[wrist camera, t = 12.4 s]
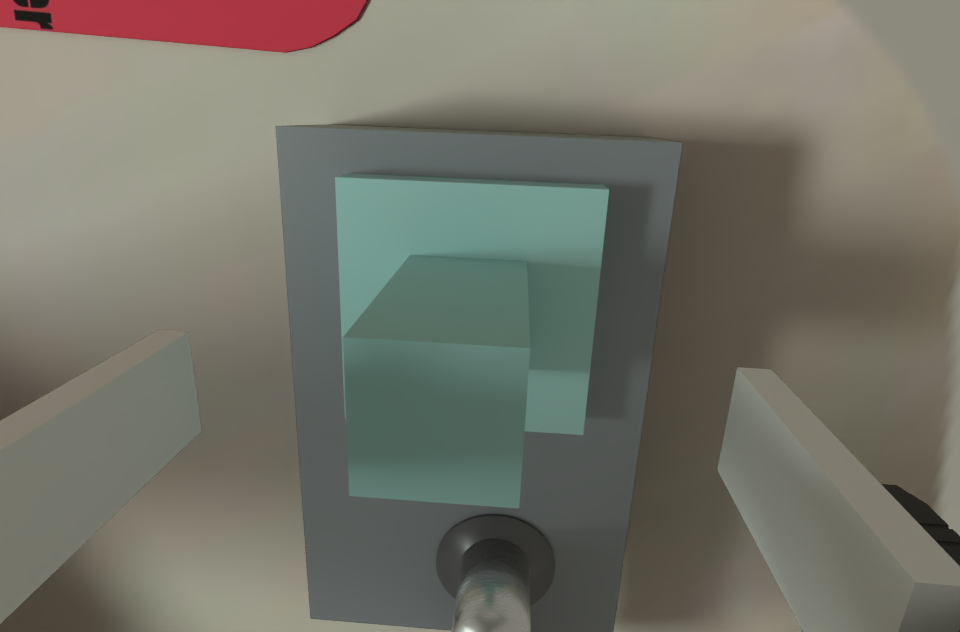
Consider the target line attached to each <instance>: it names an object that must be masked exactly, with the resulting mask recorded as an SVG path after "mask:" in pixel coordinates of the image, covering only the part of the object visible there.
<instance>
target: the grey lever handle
mask: <svg viewBox="0 0 960 632" xmlns="http://www.w3.org/2000/svg"><path fill="white" fill-rule="evenodd" d="M452 632H531V622H530V568H529V561H528V558H527V556H526V554H525V553H524V552H523V551H522V550H521V549H520V548H519V547H518V546H517V545H515V544H514V543H512V542H509V541H507V540H503V539H496V538H490V539H484V540H481V541H478V542H476V543H474V544H473V545H471V546H470V547H469V548H468V549H467V550H466V551H465V553H464V554H463V557H462V560H461V566H460V573H459V581H458V588H457V595H456V603H455V610H454V617H453V625H452Z"/></svg>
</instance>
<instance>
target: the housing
mask: <svg viewBox="0 0 960 632" xmlns="http://www.w3.org/2000/svg"><path fill="white" fill-rule="evenodd" d="M276 139H277V153H278V168H279V182H280V196H281V210H282V224H283V238H284V252H285V266H286V281H287V295H288V309H289V323H290V337H291V351H292V365H293V379H294V394H295V408H296V422H297V436H298V450H299V464H300V478H301V492H302V507H303V521H304V535H305V549H306V563H307V577H308V591H309V606H310V619H320V620H332V621H344V622H356V623H368V624H380V625H392V626H404V627H415V628H427V629H439V630H451V631H452V625H453V617H454V610H455V603H456V595H457V588H458V581H459V573H460V566H461V560H462V557H463V554H464V553H465V551H466V550H467V549H468V548H469V547H470V546H471V545H473V544H474V543H476V542H478V541H481V540H484V539H490V538H496V539H503V540H507V541H509V542H512V543H514V544H515V545H517V546H518V547H519V548H520V549H521V550H522V551H523V552H524V553H525V554H526V556H527V558H528V561H529V568H530V622H531V632H613V630H614V623H615V616H616V609H617V602H618V595H619V588H620V581H621V574H622V566H623V559H624V552H625V545H626V538H627V531H628V524H629V517H630V510H631V503H632V496H633V489H634V482H635V475H636V468H637V461H638V453H639V446H640V439H641V432H642V425H643V418H644V411H645V404H646V397H647V390H648V383H649V376H650V369H651V362H652V355H653V348H654V341H655V333H656V326H657V319H658V312H659V305H660V298H661V291H662V284H663V277H664V270H665V263H666V256H667V249H668V242H669V235H670V228H671V220H672V213H673V206H674V199H675V192H676V185H677V178H678V171H679V164H680V157H681V150H682V142H675V141H668V140H662V139H655V138H648V137H628V136H603V135H578V134H554V133H529V132H504V131H479V130H454V129H430V128H405V127H380V126H355V125H331V124H327V125H294V126H276ZM347 173H354V174H376V175H399V176H421V177H444V178H466V179H488V180H511V181H533V182H556V183H578V184H601V185H604V186H605V187H607V188H608V189H609V196H608V206H607V215H606V225H605V234H604V243H603V253H602V262H601V272H600V281H599V291H598V300H597V310H596V319H595V328H594V338H593V347H592V357H591V366H590V376H589V385H588V395H587V404H586V413H585V423H584V432H583V435H574V434H559V433H544V432H529V431H524V446H523V460H522V475H521V489H520V503H519V508H505V507H492V506H478V505H464V504H451V503H437V502H423V501H410V500H396V499H382V498H369V497H355V496H349V479H348V454H347V429H346V419H345V409H344V385H343V360H342V336H341V312H340V287H339V263H338V238H337V214H336V190H335V177H337V176H340V175H344V174H347Z"/></svg>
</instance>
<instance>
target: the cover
mask: <svg viewBox="0 0 960 632" xmlns="http://www.w3.org/2000/svg"><path fill="white" fill-rule="evenodd" d="M335 190H336V214H337V238H338V263H339V287H340V312H341V336H342V360H343V385H344V409H345V419H346V429H347V454H348V479H349V496H355V497H369V498H382V499H396V500H410V501H423V502H437V503H451V504H464V505H478V506H492V507H505V508H519V503H520V489H521V475H522V460H523V446H524V431H529V432H544V433H559V434H574V435H583V432H584V423H585V413H586V404H587V395H588V385H589V376H590V366H591V357H592V347H593V338H594V328H595V319H596V310H597V300H598V291H599V281H600V272H601V262H602V253H603V243H604V234H605V225H606V215H607V206H608V196H609V189H608V188H607V187H605V186H604V185H601V184H578V183H556V182H533V181H511V180H488V179H466V178H444V177H421V176H399V175H376V174H354V173H347V174H344V175H340V176H337V177H335Z"/></svg>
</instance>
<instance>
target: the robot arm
mask: <svg viewBox="0 0 960 632" xmlns="http://www.w3.org/2000/svg"><path fill="white" fill-rule="evenodd" d="M200 432H201V423H200V415H199V408H198V400H197V393H196V385H195V377H194V370H193V362H192V355H191V347H190V340H189V332H183V331H168V330H157V331H156V332H154V333H152V334H150V335H149V336H147V337H145V338H143V339H142V340H140V341H138V342H136V343H135V344H133V345H131V346H129V347H128V348H126V349H124V350H123V351H121V352H119V353H117V354H116V355H114V356H112V357H110V358H109V359H107V360H105V361H103V362H102V363H100V364H98V365H96V366H95V367H93V368H91V369H89V370H88V371H86V372H84V373H82V374H81V375H79V376H77V377H76V378H74V379H72V380H70V381H69V382H67V383H65V384H63V385H62V386H60V387H58V388H56V389H55V390H53V391H51V392H49V393H48V394H46V395H44V396H42V397H41V398H39V399H37V400H35V401H34V402H32V403H30V404H29V405H27V406H25V407H23V408H22V409H20V410H18V411H16V412H15V413H13V414H11V415H9V416H8V417H6V418H4V419H2V420H1V421H0V624H1V623H2V622H3V621H4V620H5V619H6V618H7V617H8V616H9V615H10V614H11V613H12V612H13V611H14V610H16V609H17V608H18V607H19V606H20V605H21V604H22V603H23V602H24V601H25V600H26V599H27V598H28V597H29V596H30V595H31V594H32V593H33V592H34V591H35V590H36V589H37V588H38V587H40V586H41V585H42V584H43V583H44V582H45V581H46V580H47V579H48V578H49V577H50V576H51V575H52V574H53V573H54V572H55V571H56V570H57V569H58V568H59V567H60V566H61V565H62V564H64V563H65V562H66V561H67V560H68V559H69V558H70V557H71V556H72V555H73V554H74V553H75V552H76V551H77V550H78V549H79V548H80V547H81V546H82V545H83V544H84V543H85V542H86V541H88V540H89V539H90V538H91V537H92V536H93V535H94V534H95V533H96V532H97V531H98V530H99V529H100V528H101V527H102V526H103V525H104V524H105V523H106V522H107V521H108V520H109V519H110V518H111V517H113V516H114V515H115V514H116V513H117V512H118V511H119V510H120V509H121V508H122V507H123V506H124V505H125V504H126V503H127V502H128V501H129V500H130V499H131V498H132V497H133V496H134V495H135V494H137V493H138V492H139V491H140V490H141V489H142V488H143V487H144V486H145V485H146V484H147V483H148V482H149V481H150V480H151V479H152V478H153V477H154V476H155V475H156V474H157V473H158V472H159V471H161V470H162V469H163V468H164V467H165V466H166V465H167V464H168V463H169V462H170V461H171V460H172V459H173V458H174V457H175V456H176V455H177V454H178V453H179V452H180V451H181V450H182V449H183V448H184V447H186V446H187V445H188V444H189V443H190V442H191V441H192V440H193V439H194V438H195V437H196V436H197V435H198V434H199V433H200ZM717 471H718V472H719V474H720V476H721V478H722V480H723V482H724V484H725V486H726V488H727V489H728V491H729V493H730V495H731V497H732V499H733V501H734V503H735V505H736V506H737V508H738V510H739V512H740V514H741V516H742V518H743V520H744V521H745V523H746V525H747V527H748V529H749V531H750V533H751V535H752V537H753V538H754V540H755V542H756V544H757V546H758V548H759V550H760V552H761V553H762V555H763V557H764V559H765V561H766V563H767V565H768V567H769V569H770V570H771V572H772V574H773V576H774V578H775V580H776V582H777V584H778V585H779V587H780V589H781V591H782V593H783V595H784V597H785V599H786V601H787V602H788V604H789V606H790V608H791V610H792V612H793V614H794V616H795V617H796V619H797V621H798V623H799V625H800V627H801V629H802V631H803V632H960V536H959V535H958V534H957V533H956V532H955V531H954V530H953V529H949V528H948V524H947V523H946V522H945V521H944V520H942V519H941V518H940V517H939V516H938V515H937V514H936V513H935V512H934V511H933V510H932V509H931V508H930V507H929V506H928V505H927V504H926V503H924V502H923V501H921V500H919V499H918V498H916V497H914V496H913V495H911V494H910V493H908V492H906V491H905V490H903V489H902V488H900V487H898V486H897V485H886V484H880V483H879V481H878V480H877V479H876V478H875V477H874V476H873V475H872V474H871V473H870V472H869V471H868V470H867V469H866V468H865V467H864V466H863V465H862V464H861V463H860V462H859V461H858V460H857V458H856V457H855V456H854V455H853V454H852V453H851V452H850V451H849V450H848V449H847V448H846V447H845V446H844V445H843V444H842V443H841V442H840V441H839V440H838V439H837V438H836V437H835V435H834V434H833V433H832V432H831V431H830V430H829V429H828V428H827V427H826V426H825V425H824V424H823V423H822V422H821V421H820V420H819V419H818V418H817V417H816V416H815V415H814V414H813V412H812V411H811V410H810V409H809V408H808V407H807V406H806V405H805V404H804V403H803V402H802V401H801V400H800V399H799V398H798V397H797V396H796V395H795V394H794V393H793V392H792V391H791V389H790V388H789V387H788V386H787V385H786V384H785V383H784V382H783V381H782V380H781V379H780V378H779V377H778V376H777V375H776V374H775V373H774V372H773V371H772V370H771V369H757V368H742V367H737V371H736V376H735V381H734V386H733V391H732V396H731V402H730V407H729V412H728V417H727V422H726V427H725V432H724V438H723V443H722V448H721V453H720V458H719V463H718V468H717Z"/></svg>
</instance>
